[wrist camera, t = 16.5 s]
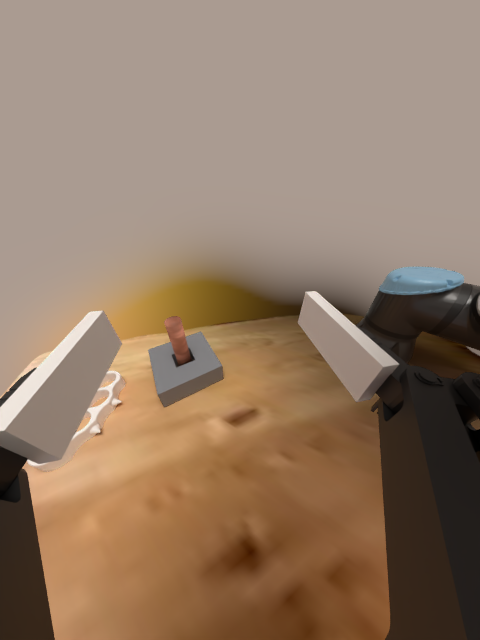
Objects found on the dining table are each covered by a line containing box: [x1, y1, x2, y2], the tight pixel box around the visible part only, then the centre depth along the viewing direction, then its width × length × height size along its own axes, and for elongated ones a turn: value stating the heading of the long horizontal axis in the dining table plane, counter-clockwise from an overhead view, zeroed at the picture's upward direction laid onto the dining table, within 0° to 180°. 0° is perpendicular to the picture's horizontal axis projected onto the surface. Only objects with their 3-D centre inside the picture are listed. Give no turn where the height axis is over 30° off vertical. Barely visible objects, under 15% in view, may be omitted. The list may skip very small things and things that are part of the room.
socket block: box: [148, 332, 223, 407], centre depth 43 cm, size 14×14×5 cm
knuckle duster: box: [27, 371, 125, 472], centre depth 35 cm, size 3×18×15 cm
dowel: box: [164, 316, 192, 366], centre depth 40 cm, size 3×3×16 cm
